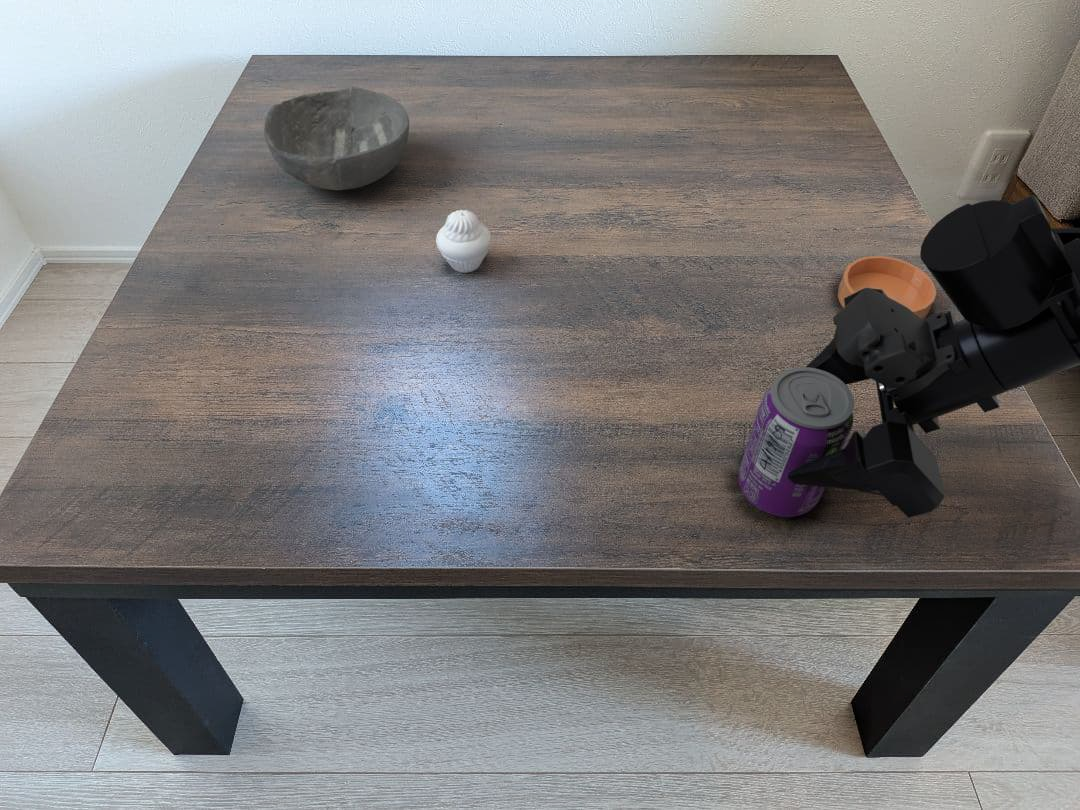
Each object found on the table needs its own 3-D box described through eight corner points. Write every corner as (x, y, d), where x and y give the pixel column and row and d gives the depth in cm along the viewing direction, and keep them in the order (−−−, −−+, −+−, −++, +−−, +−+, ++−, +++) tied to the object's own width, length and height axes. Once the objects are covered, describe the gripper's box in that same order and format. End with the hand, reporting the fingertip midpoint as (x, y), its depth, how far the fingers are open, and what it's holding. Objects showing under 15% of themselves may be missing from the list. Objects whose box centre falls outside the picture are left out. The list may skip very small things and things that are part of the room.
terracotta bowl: (921, 279, 88) (930, 261, 86) (932, 335, 82) (941, 317, 80) (835, 269, 89) (841, 251, 87) (839, 323, 83) (846, 305, 81)
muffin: (435, 252, 91) (428, 200, 86) (486, 244, 92) (483, 192, 87) (444, 285, 87) (437, 233, 82) (497, 276, 88) (495, 224, 83)
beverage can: (827, 522, 66) (871, 431, 57) (742, 521, 66) (774, 430, 58) (809, 456, 71) (848, 363, 62) (731, 455, 71) (758, 362, 62)
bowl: (419, 208, 97) (411, 149, 91) (273, 221, 95) (256, 162, 89) (412, 134, 109) (404, 78, 103) (282, 145, 107) (267, 88, 101)
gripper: (914, 197, 57) (731, 297, 66) (962, 382, 44) (728, 472, 54) (982, 294, 62) (802, 374, 71) (1041, 484, 49) (815, 550, 59)
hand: (787, 433), depth 63 cm, fingers open, 9 cm apart
